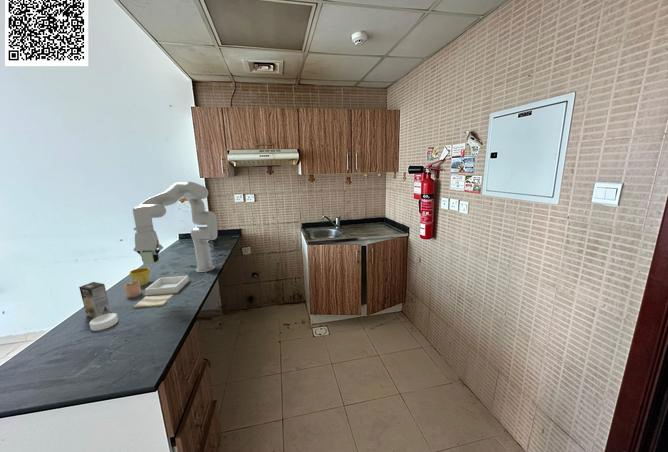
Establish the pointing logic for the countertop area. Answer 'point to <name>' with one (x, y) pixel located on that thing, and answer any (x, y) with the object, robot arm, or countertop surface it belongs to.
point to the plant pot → (140, 275)
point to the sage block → (148, 257)
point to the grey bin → (167, 285)
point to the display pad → (153, 301)
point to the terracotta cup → (133, 289)
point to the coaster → (103, 321)
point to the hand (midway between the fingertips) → (150, 261)
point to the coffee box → (95, 299)
